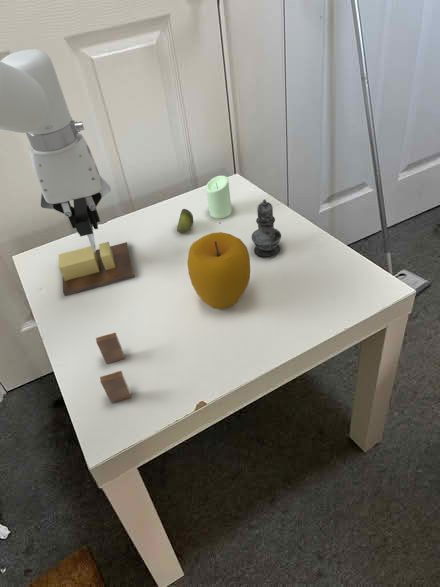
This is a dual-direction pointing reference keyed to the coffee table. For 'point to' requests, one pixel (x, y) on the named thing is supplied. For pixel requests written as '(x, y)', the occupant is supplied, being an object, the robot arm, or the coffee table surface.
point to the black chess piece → (266, 233)
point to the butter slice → (106, 255)
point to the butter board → (103, 272)
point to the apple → (219, 269)
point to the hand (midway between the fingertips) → (87, 226)
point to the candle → (219, 197)
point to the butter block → (78, 263)
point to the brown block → (115, 381)
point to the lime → (185, 221)
